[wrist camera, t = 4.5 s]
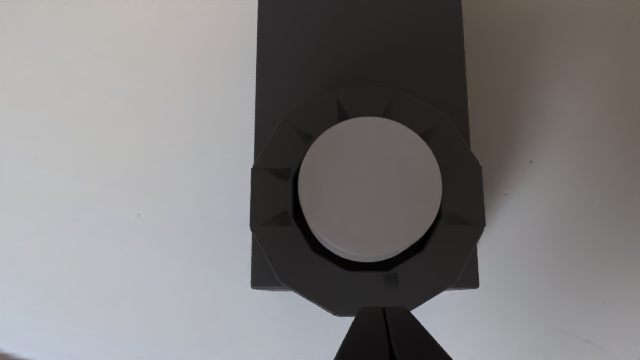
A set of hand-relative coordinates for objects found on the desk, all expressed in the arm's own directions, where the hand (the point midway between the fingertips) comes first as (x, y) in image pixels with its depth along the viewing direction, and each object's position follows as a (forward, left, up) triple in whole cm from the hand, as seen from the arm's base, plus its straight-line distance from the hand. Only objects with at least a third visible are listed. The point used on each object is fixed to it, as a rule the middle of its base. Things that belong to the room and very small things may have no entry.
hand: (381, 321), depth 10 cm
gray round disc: (+3, 0, -5) cm, 6 cm away
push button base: (+7, 0, -11) cm, 13 cm away
